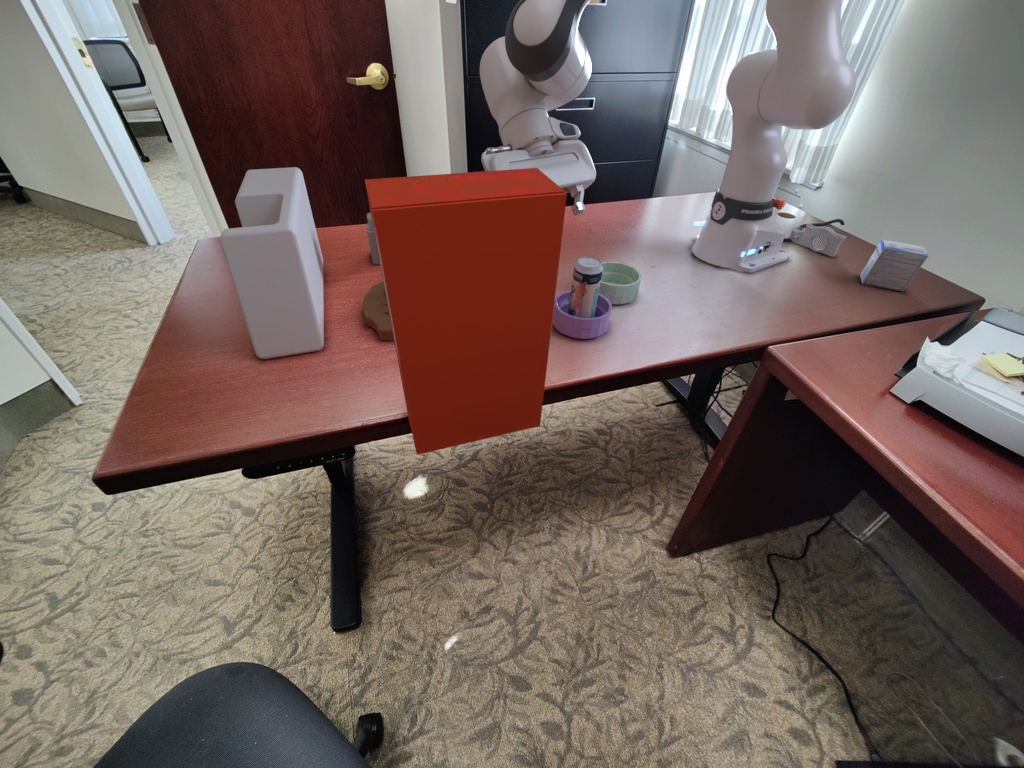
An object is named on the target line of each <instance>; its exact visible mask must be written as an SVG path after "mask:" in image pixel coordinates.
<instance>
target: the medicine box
mask: <svg viewBox="0 0 1024 768" xmlns="http://www.w3.org/2000/svg"><path fill="white" fill-rule="evenodd" d="M928 258H929V253H928V251H927V250H926V248H925V246H921V245H916V244H909V243H904V242H899V241H898V242H897V241H893V240H892V241H891V240H885V239H881V240H880V242H879V244H877V247H876V248H875V250H874V251H873V253H872V255H871V256H870V258H869V259H868V261H867V262H866V264H865V266H864V268H863V269H862V270H861V272H860V274H859V277H860V281H861V284H863V285H867V286H871V287H877V288H883V289H887V290H893V291H898V292H904V291H905V290H906V288H907V287H908V286H909V284H910V283H911V281H912V280H913V279H914V277H915V275H916V274H917V273H918V272H919V270H920V269H921V267H922V266H923V265H924V263H925V261H926V260H927V259H928Z"/></svg>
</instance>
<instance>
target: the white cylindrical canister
mask: <svg viewBox="0 0 1024 768" xmlns="http://www.w3.org/2000/svg"><path fill="white" fill-rule="evenodd" d="M602 271H603V267H602V265H601V261H600V259H598V258H596V257H593V256H582V257H579V258H578V259H577V261H575V263H574V266H573V273H572V278H571V279H572V281H571V286H570V290H571V294H570V301H569V308H568V314H569V315H571V316H574V317H579V318H594V315H595V309H596V304H597V298H598V293H599V288H600V282H601V277H602Z"/></svg>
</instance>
